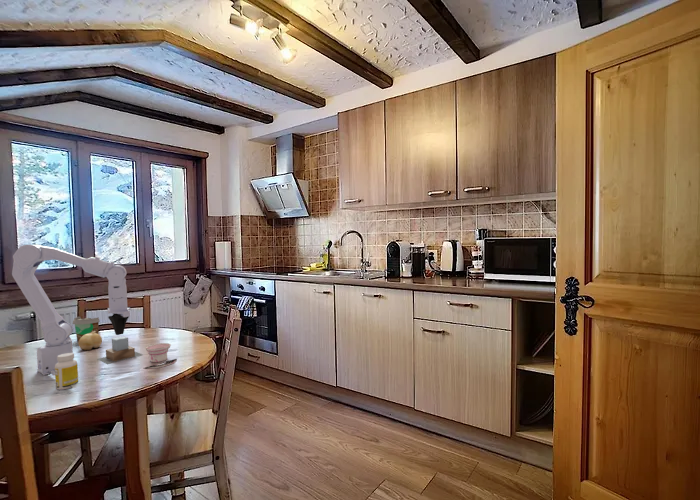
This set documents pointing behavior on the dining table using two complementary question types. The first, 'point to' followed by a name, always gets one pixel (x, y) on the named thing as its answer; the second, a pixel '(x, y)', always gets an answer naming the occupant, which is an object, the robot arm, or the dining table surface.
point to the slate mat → (117, 360)
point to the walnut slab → (120, 354)
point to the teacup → (159, 354)
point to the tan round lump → (90, 341)
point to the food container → (85, 326)
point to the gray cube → (120, 343)
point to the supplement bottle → (66, 371)
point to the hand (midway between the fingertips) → (119, 334)
